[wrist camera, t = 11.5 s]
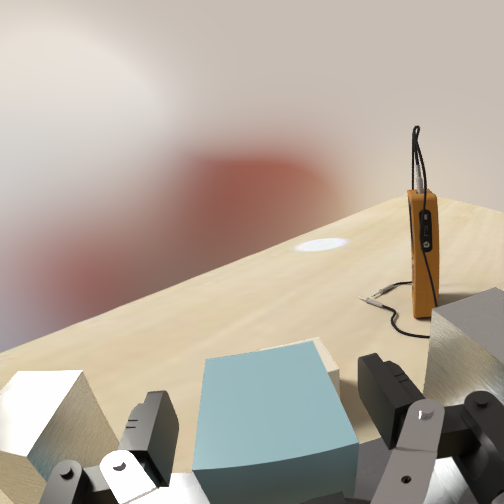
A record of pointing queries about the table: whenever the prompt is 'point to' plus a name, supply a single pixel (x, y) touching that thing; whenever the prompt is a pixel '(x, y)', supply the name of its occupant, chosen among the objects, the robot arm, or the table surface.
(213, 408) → the block
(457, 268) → the table surface
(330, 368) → the block
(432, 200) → the multimeter
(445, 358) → the grey u-shaped metal stand
